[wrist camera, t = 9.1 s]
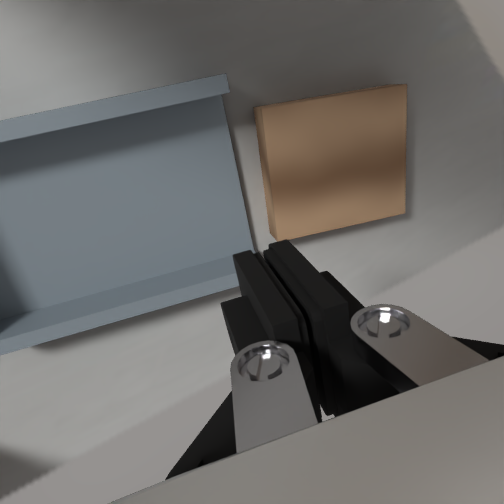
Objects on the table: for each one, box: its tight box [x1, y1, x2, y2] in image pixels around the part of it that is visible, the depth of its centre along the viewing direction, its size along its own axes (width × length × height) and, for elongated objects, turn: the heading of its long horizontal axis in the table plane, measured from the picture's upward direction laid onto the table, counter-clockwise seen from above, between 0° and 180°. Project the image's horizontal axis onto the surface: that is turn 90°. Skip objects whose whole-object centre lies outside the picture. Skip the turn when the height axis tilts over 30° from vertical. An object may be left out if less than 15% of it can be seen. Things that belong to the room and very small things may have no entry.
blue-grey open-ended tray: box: [0, 73, 256, 355], centre depth 25 cm, size 13×19×4 cm
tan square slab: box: [253, 84, 407, 242], centre depth 29 cm, size 9×10×2 cm
